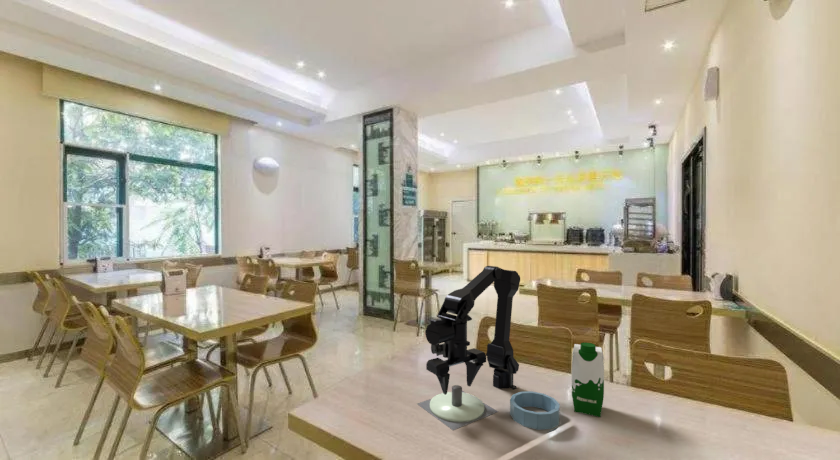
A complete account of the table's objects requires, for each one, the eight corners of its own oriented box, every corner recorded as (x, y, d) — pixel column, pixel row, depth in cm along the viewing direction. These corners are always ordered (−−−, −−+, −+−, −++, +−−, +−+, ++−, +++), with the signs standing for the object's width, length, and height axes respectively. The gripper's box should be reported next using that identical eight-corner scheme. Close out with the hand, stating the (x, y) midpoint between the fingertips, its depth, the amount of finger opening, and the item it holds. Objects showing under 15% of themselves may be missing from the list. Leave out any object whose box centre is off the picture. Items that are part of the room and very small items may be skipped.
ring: (530, 403, 112) (530, 387, 112) (568, 423, 101) (569, 405, 101) (501, 416, 104) (501, 399, 104) (538, 438, 94) (539, 419, 94)
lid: (459, 390, 119) (459, 371, 118) (496, 411, 105) (496, 390, 105) (419, 404, 110) (419, 384, 109) (453, 428, 96) (453, 406, 96)
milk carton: (570, 412, 106) (571, 344, 106) (572, 399, 115) (572, 336, 114) (604, 419, 103) (605, 349, 102) (603, 405, 111) (603, 339, 111)
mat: (459, 392, 119) (460, 389, 119) (498, 414, 105) (498, 411, 105) (416, 406, 110) (416, 403, 110) (452, 433, 96) (452, 430, 96)
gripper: (463, 325, 119) (463, 373, 119) (415, 335, 108) (415, 387, 109) (487, 334, 110) (487, 385, 110) (438, 346, 99) (438, 403, 100)
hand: (457, 389), depth 107 cm, fingers open, 9 cm apart
